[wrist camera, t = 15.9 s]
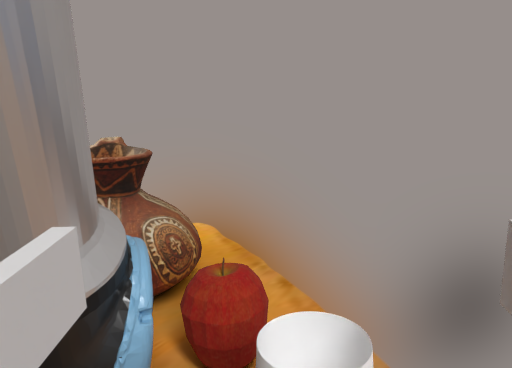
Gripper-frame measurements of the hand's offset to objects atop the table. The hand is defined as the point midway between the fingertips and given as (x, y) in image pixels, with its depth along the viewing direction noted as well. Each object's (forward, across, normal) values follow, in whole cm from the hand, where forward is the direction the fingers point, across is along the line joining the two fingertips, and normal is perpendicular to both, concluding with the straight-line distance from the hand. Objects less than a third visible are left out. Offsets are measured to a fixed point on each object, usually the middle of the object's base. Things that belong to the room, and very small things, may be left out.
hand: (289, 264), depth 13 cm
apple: (+34, -6, -28) cm, 45 cm away
